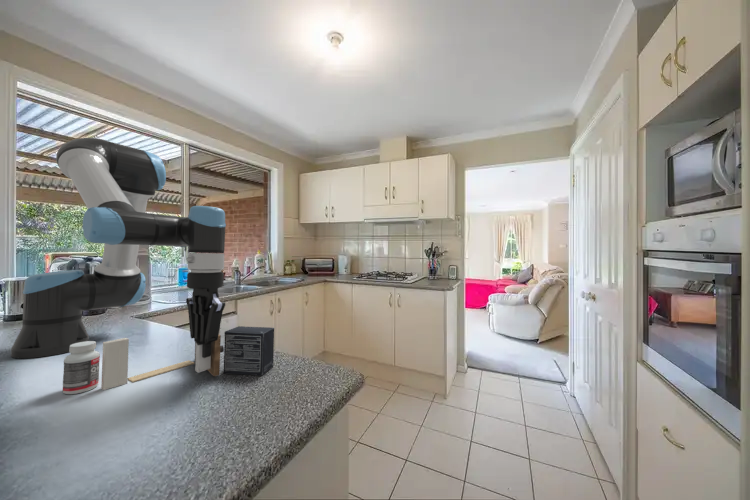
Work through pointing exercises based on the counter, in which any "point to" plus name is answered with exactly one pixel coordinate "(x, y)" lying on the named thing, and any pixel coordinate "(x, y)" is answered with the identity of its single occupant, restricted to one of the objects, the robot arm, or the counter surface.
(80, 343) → the pill bottle
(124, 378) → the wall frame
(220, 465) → the counter surface
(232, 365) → the small box
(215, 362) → the door
